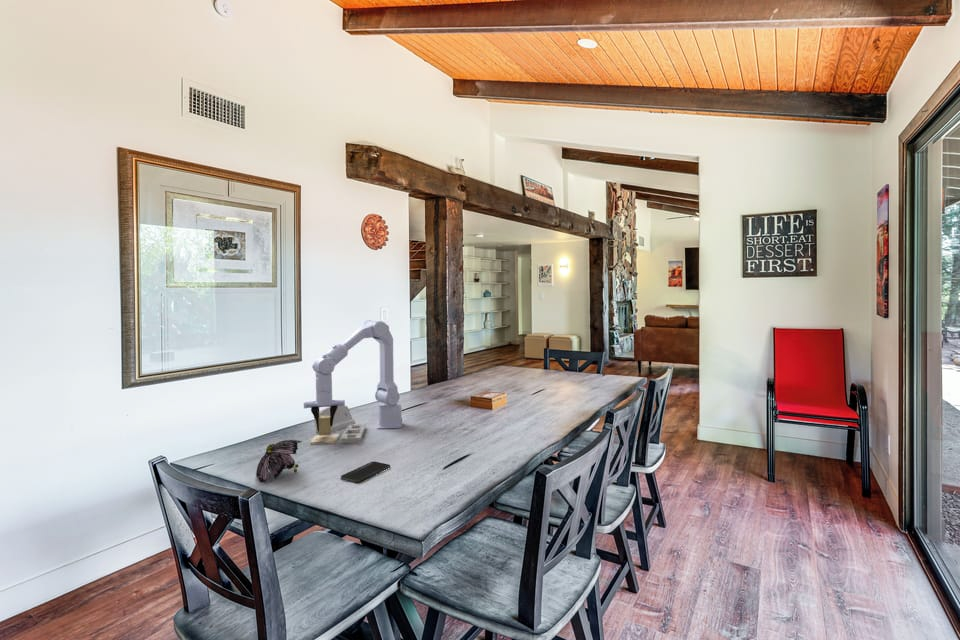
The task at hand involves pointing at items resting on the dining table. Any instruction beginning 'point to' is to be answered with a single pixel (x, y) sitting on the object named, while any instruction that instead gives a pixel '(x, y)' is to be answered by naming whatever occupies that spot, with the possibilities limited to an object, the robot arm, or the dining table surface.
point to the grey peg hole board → (353, 433)
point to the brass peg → (324, 425)
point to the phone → (365, 472)
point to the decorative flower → (277, 459)
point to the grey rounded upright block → (337, 418)
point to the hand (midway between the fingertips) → (325, 425)
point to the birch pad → (325, 439)
